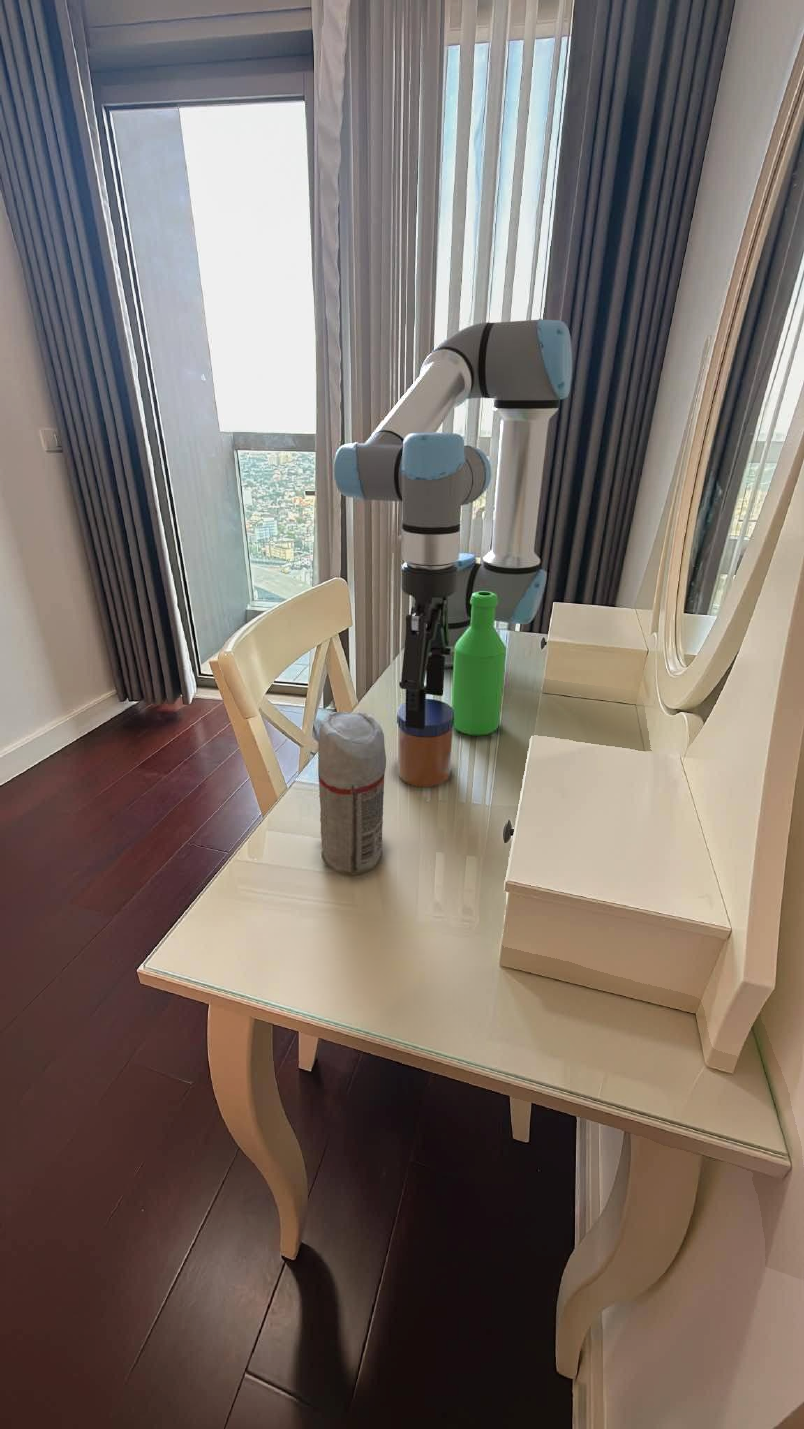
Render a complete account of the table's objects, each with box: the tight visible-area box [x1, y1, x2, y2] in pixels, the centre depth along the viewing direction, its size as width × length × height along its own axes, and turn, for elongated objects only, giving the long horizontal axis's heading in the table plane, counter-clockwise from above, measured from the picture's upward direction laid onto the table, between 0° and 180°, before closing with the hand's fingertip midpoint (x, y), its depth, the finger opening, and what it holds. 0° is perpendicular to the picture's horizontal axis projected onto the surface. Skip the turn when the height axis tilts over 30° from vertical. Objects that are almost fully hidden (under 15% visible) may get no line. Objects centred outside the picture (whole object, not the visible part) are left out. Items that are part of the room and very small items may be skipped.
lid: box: [396, 698, 454, 737], centre depth 86 cm, size 9×9×2 cm
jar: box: [397, 725, 454, 788], centre depth 88 cm, size 8×8×11 cm
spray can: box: [317, 710, 387, 876], centre depth 70 cm, size 8×8×20 cm
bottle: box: [451, 591, 507, 737], centre depth 98 cm, size 9×9×25 cm
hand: (425, 709), depth 85 cm, fingers open, 10 cm apart
